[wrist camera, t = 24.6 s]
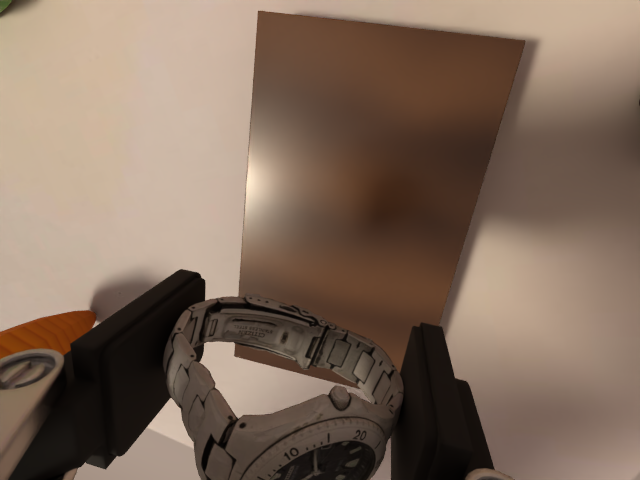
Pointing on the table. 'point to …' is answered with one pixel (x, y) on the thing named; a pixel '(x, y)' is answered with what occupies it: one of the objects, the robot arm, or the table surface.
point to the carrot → (47, 333)
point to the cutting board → (366, 170)
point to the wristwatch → (291, 423)
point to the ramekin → (4, 4)
